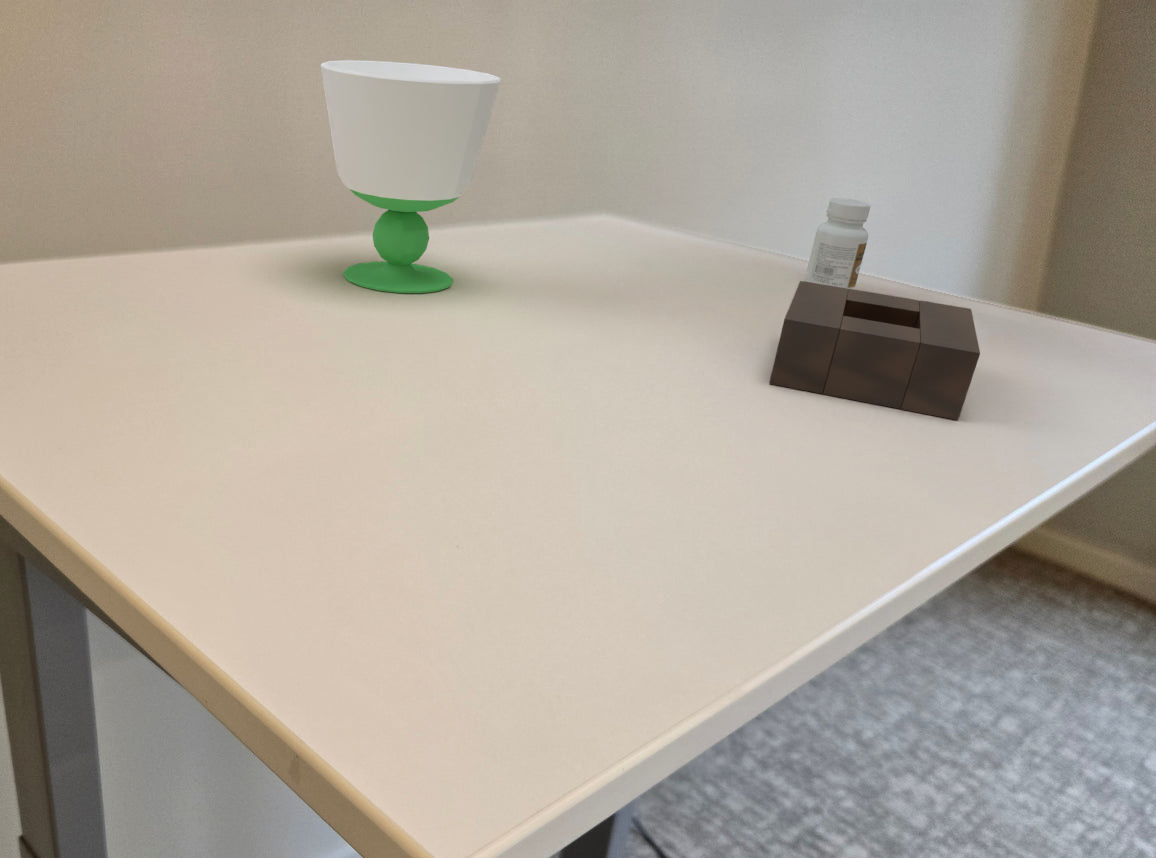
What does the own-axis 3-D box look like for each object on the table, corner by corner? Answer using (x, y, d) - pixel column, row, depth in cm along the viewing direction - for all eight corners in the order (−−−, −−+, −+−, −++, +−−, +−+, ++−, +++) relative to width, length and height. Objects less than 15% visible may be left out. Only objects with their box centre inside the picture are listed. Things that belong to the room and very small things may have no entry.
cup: (393, 250, 97) (405, 59, 90) (514, 285, 90) (537, 80, 82) (279, 271, 88) (282, 60, 80) (403, 312, 80) (419, 83, 73)
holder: (952, 369, 79) (971, 308, 77) (958, 420, 69) (980, 352, 67) (785, 338, 82) (800, 280, 80) (768, 384, 72) (784, 318, 70)
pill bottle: (860, 298, 96) (884, 208, 92) (812, 294, 95) (834, 204, 92) (843, 285, 99) (866, 199, 96) (797, 281, 99) (817, 195, 96)
